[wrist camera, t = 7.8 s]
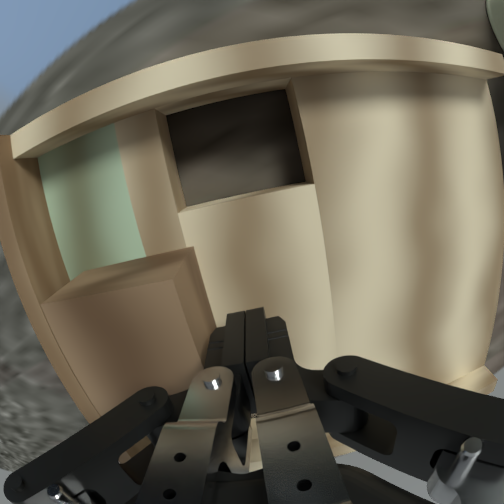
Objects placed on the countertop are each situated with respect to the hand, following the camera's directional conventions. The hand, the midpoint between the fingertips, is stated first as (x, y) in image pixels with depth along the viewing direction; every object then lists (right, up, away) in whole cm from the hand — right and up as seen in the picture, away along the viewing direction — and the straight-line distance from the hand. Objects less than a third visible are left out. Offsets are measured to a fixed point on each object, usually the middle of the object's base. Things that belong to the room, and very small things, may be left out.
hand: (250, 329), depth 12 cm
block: (-5, 0, +2) cm, 5 cm away
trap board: (+3, +2, +4) cm, 5 cm away
